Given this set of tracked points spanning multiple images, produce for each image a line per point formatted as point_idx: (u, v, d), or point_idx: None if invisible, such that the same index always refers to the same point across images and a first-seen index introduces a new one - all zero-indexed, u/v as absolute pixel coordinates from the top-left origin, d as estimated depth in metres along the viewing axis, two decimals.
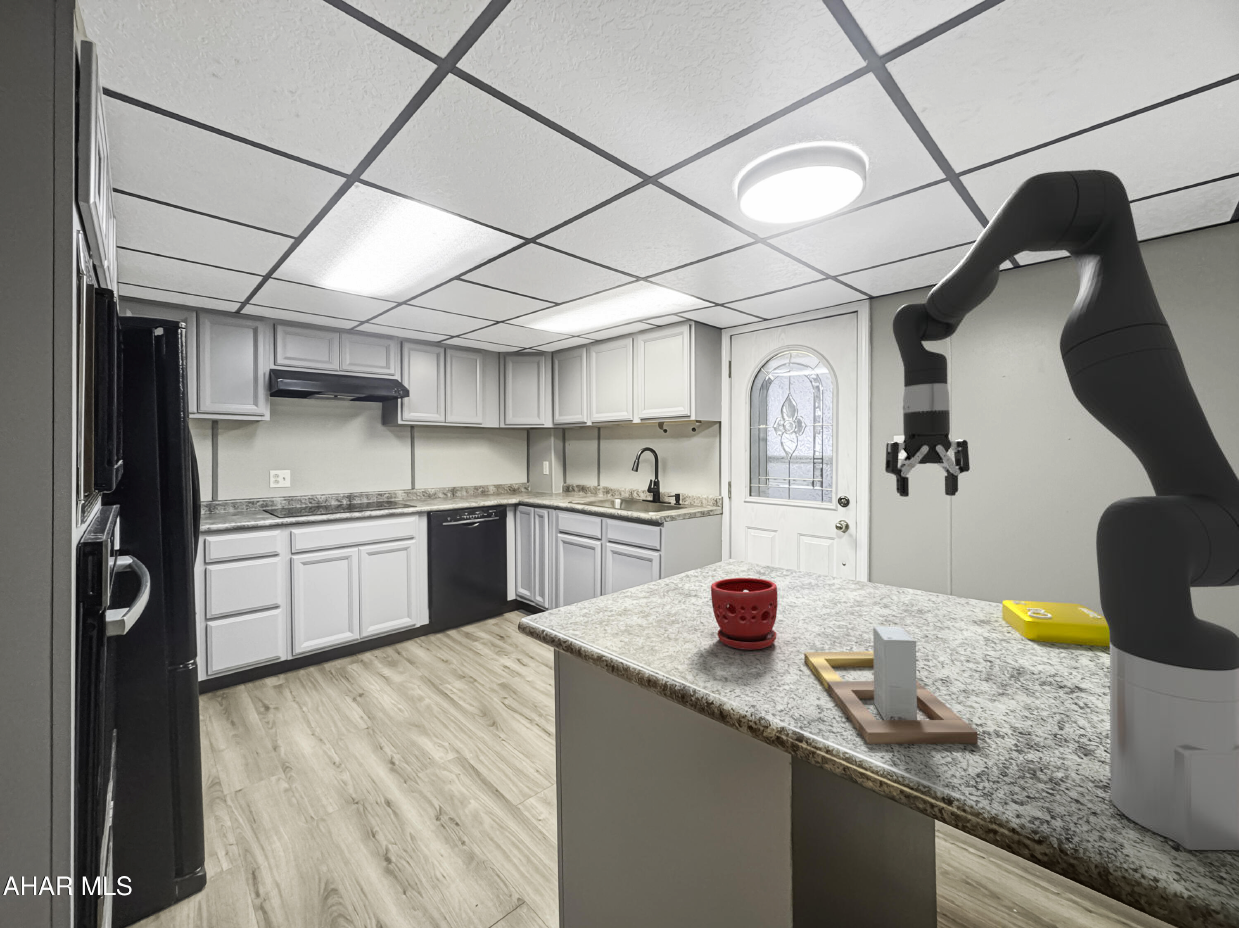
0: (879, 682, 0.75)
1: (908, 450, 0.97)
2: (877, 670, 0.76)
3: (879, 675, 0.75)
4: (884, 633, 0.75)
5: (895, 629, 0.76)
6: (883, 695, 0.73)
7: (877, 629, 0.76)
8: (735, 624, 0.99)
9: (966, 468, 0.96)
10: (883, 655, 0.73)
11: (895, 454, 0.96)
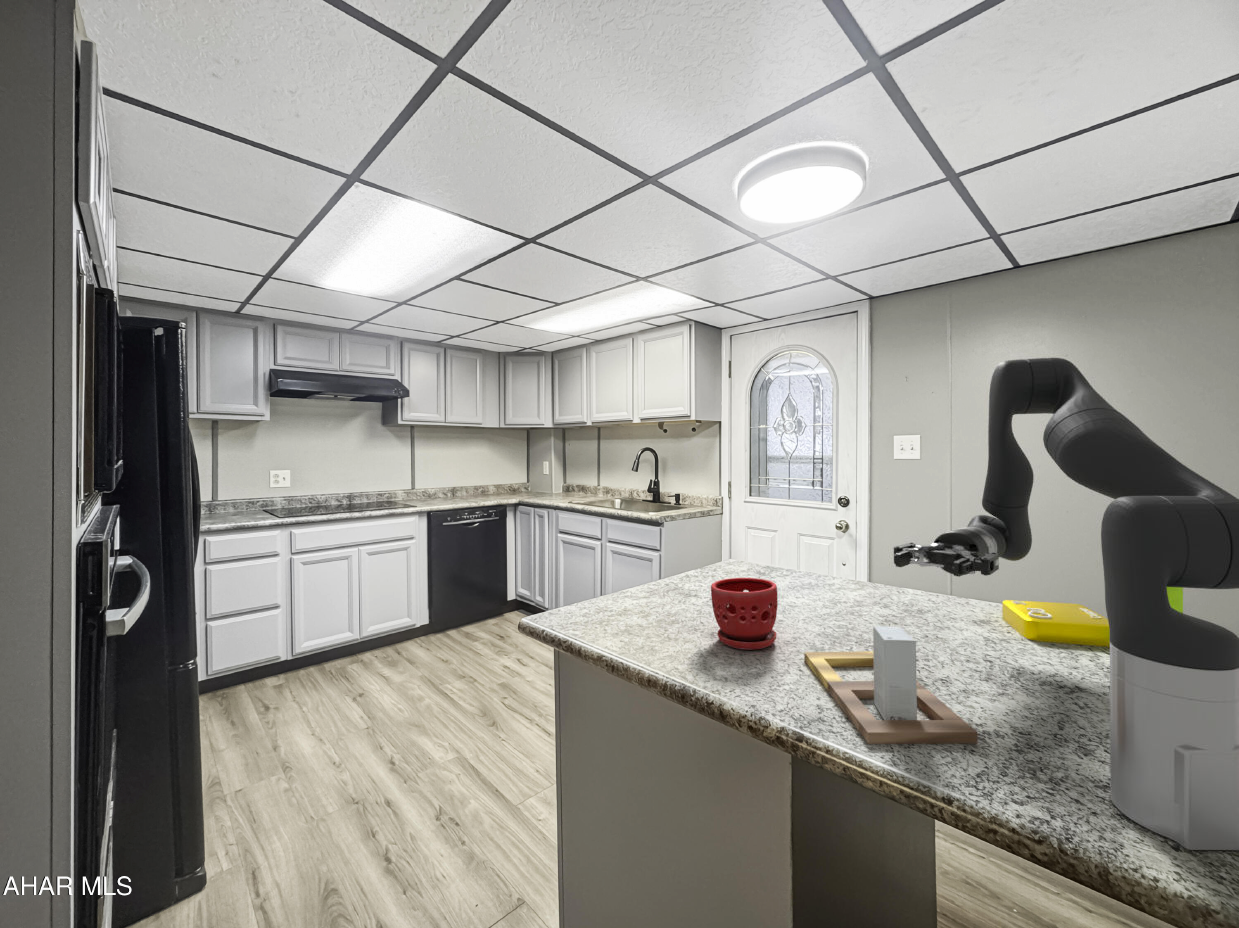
0: (879, 682, 0.75)
1: None
2: (877, 670, 0.76)
3: (879, 675, 0.75)
4: (883, 633, 0.75)
5: (895, 629, 0.76)
6: (883, 695, 0.73)
7: (877, 629, 0.76)
8: (735, 624, 0.99)
9: (985, 558, 0.79)
10: (883, 655, 0.73)
11: (906, 545, 0.91)
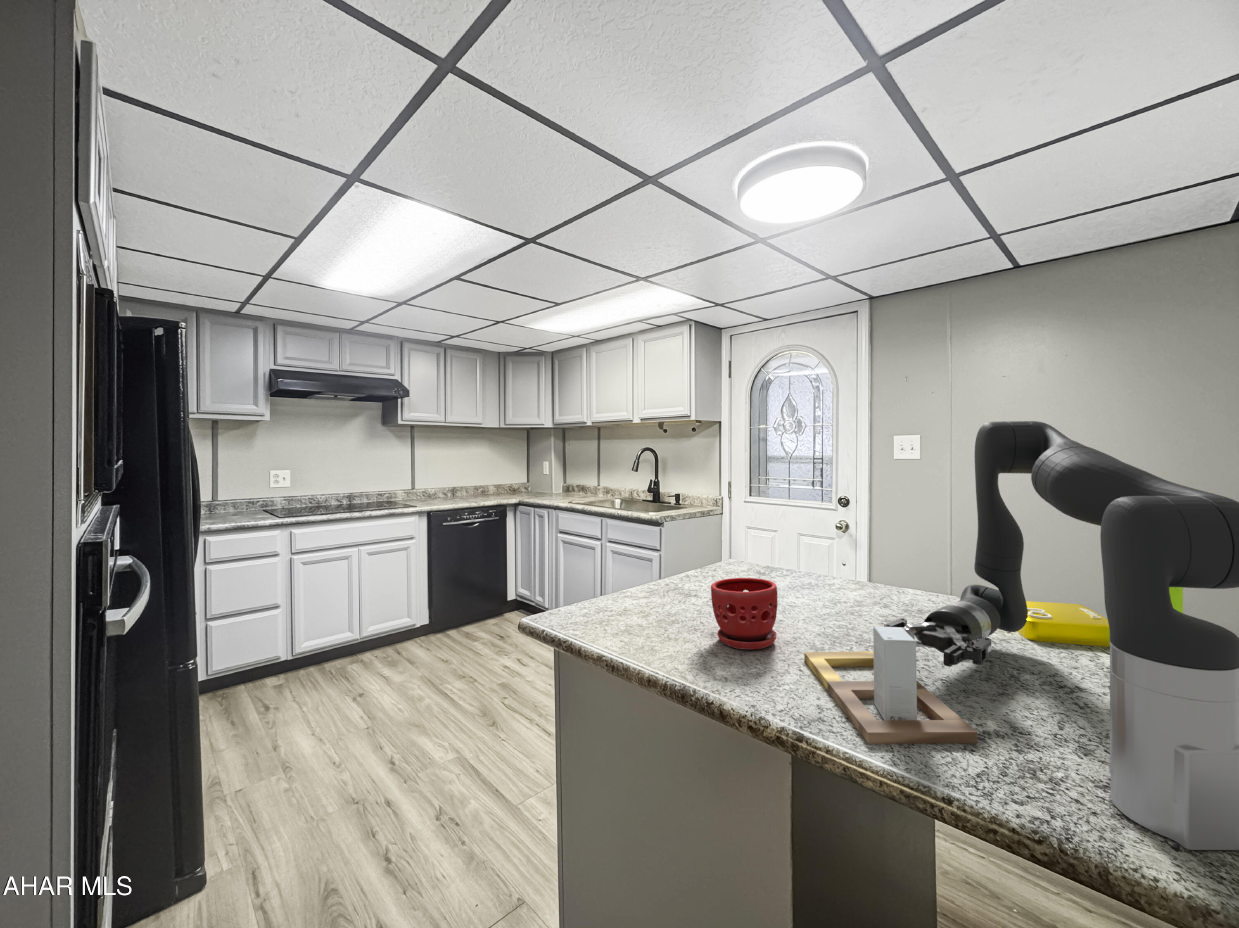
0: (879, 682, 0.75)
1: None
2: (877, 670, 0.76)
3: (879, 675, 0.75)
4: (884, 633, 0.75)
5: (895, 629, 0.76)
6: (883, 695, 0.73)
7: (877, 629, 0.76)
8: (735, 624, 0.99)
9: (977, 646, 0.77)
10: (883, 655, 0.73)
11: (897, 621, 0.89)
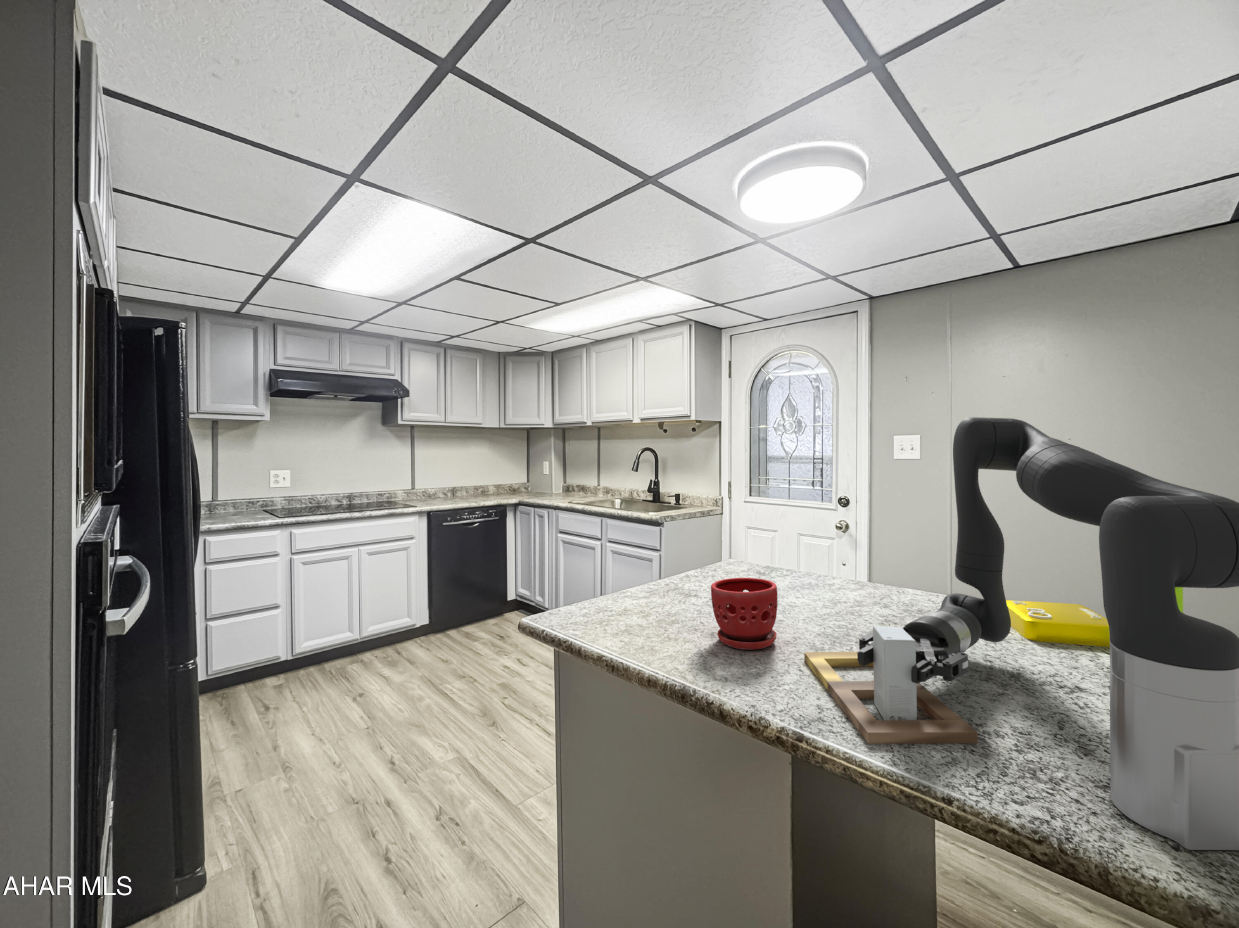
0: (879, 682, 0.75)
1: None
2: (877, 670, 0.76)
3: (879, 675, 0.75)
4: (883, 633, 0.75)
5: (895, 629, 0.76)
6: (883, 695, 0.73)
7: (877, 629, 0.76)
8: (735, 624, 0.99)
9: (947, 661, 0.72)
10: (883, 655, 0.73)
11: (872, 634, 0.83)
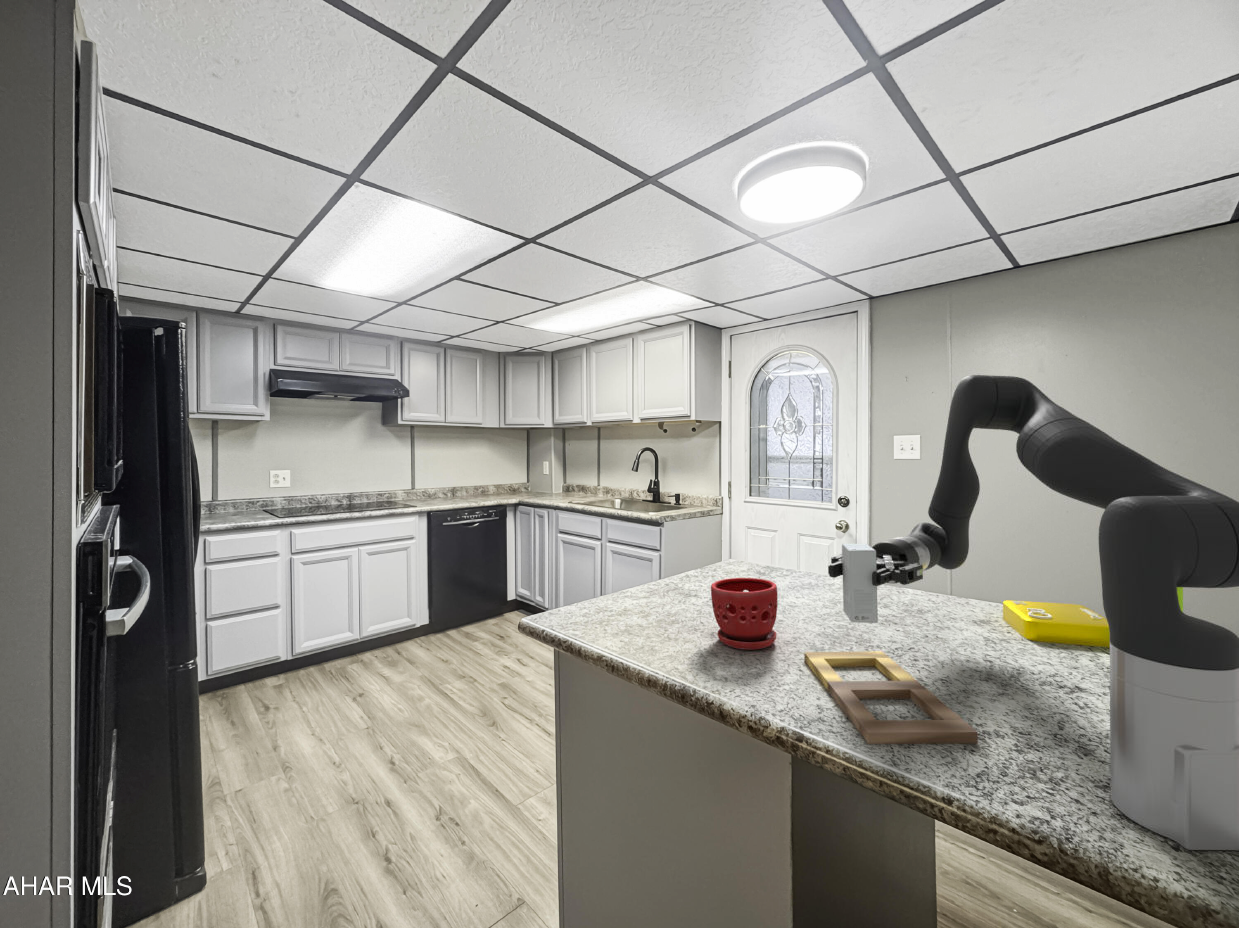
0: (846, 590, 0.87)
1: None
2: (845, 580, 0.88)
3: (846, 583, 0.87)
4: (849, 547, 0.86)
5: (860, 544, 0.88)
6: (849, 599, 0.85)
7: (844, 545, 0.88)
8: (735, 624, 0.99)
9: (903, 568, 0.83)
10: (848, 564, 0.84)
11: None
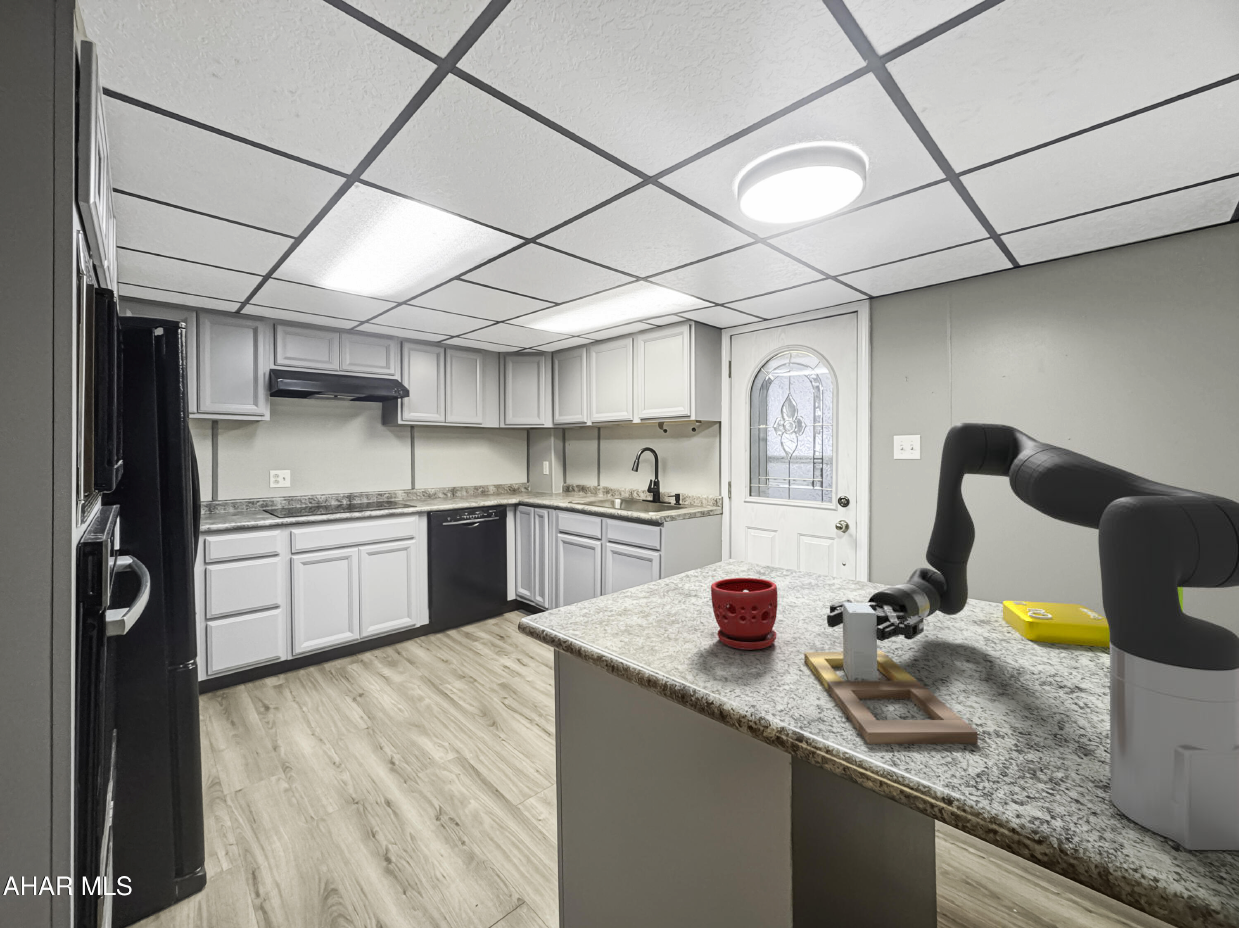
0: (846, 650, 0.87)
1: None
2: (845, 640, 0.88)
3: (846, 644, 0.87)
4: (850, 607, 0.87)
5: (861, 604, 0.88)
6: (849, 660, 0.85)
7: (845, 604, 0.89)
8: (735, 624, 0.99)
9: (908, 623, 0.83)
10: (849, 626, 0.85)
11: None
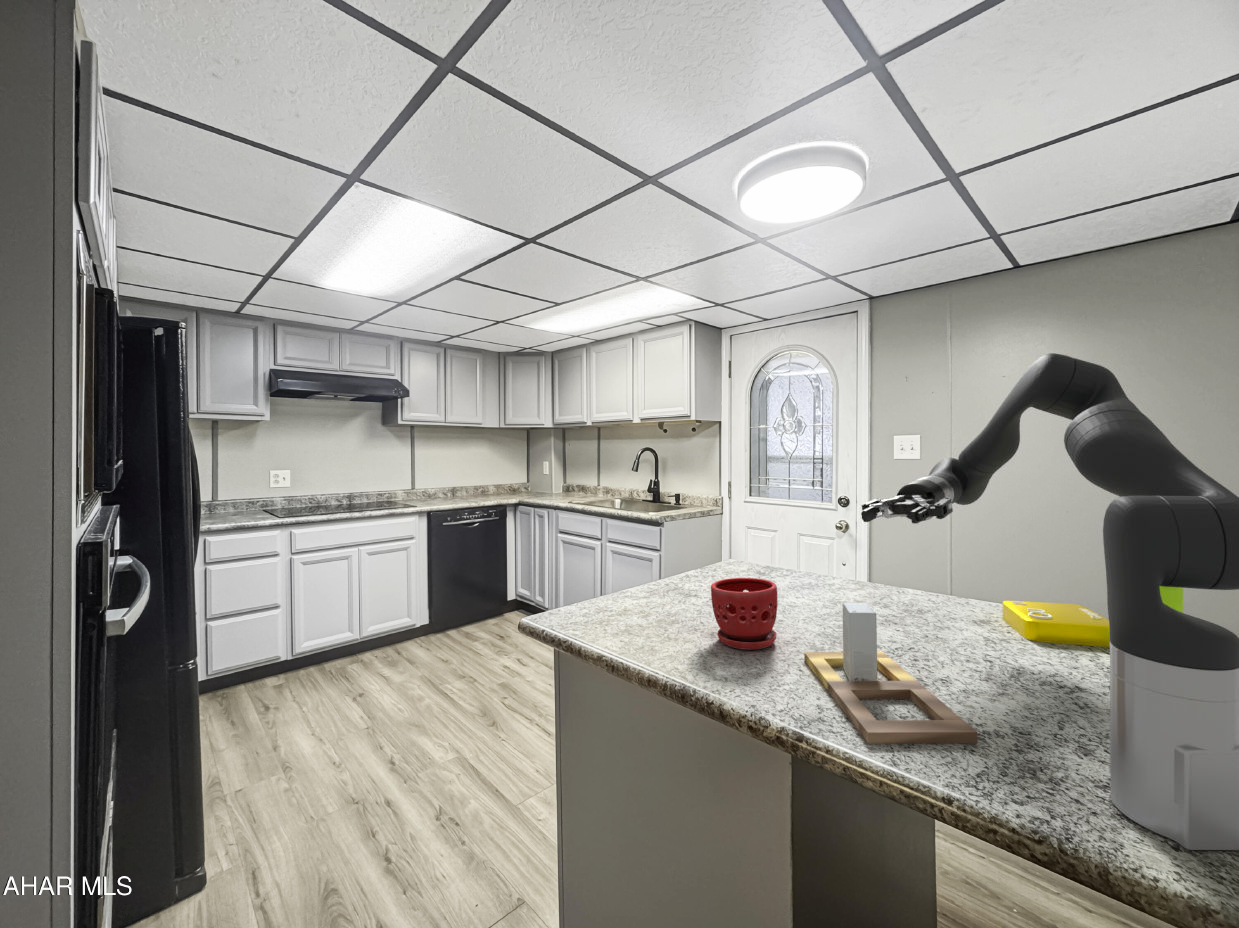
0: (846, 650, 0.87)
1: None
2: (845, 640, 0.88)
3: (846, 644, 0.87)
4: (850, 607, 0.87)
5: (860, 604, 0.88)
6: (849, 660, 0.85)
7: (845, 604, 0.89)
8: (735, 624, 0.99)
9: (938, 504, 0.90)
10: (849, 626, 0.85)
11: (873, 501, 1.02)
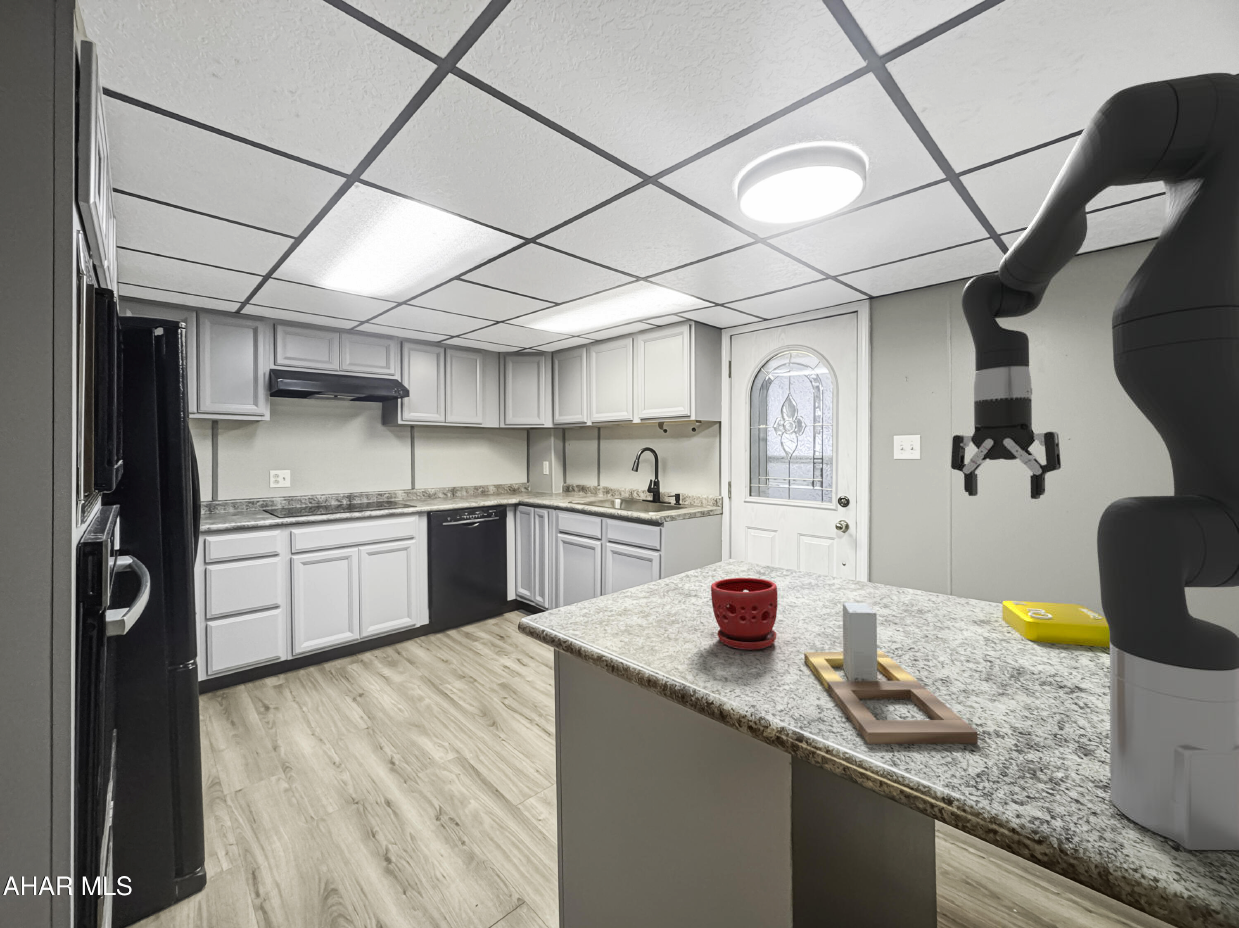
0: (846, 650, 0.87)
1: (974, 444, 0.86)
2: (845, 640, 0.88)
3: (846, 644, 0.87)
4: (850, 607, 0.87)
5: (861, 604, 0.88)
6: (849, 660, 0.85)
7: (845, 604, 0.89)
8: (735, 624, 0.99)
9: (1051, 466, 0.78)
10: (849, 626, 0.85)
11: (956, 448, 0.88)
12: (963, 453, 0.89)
